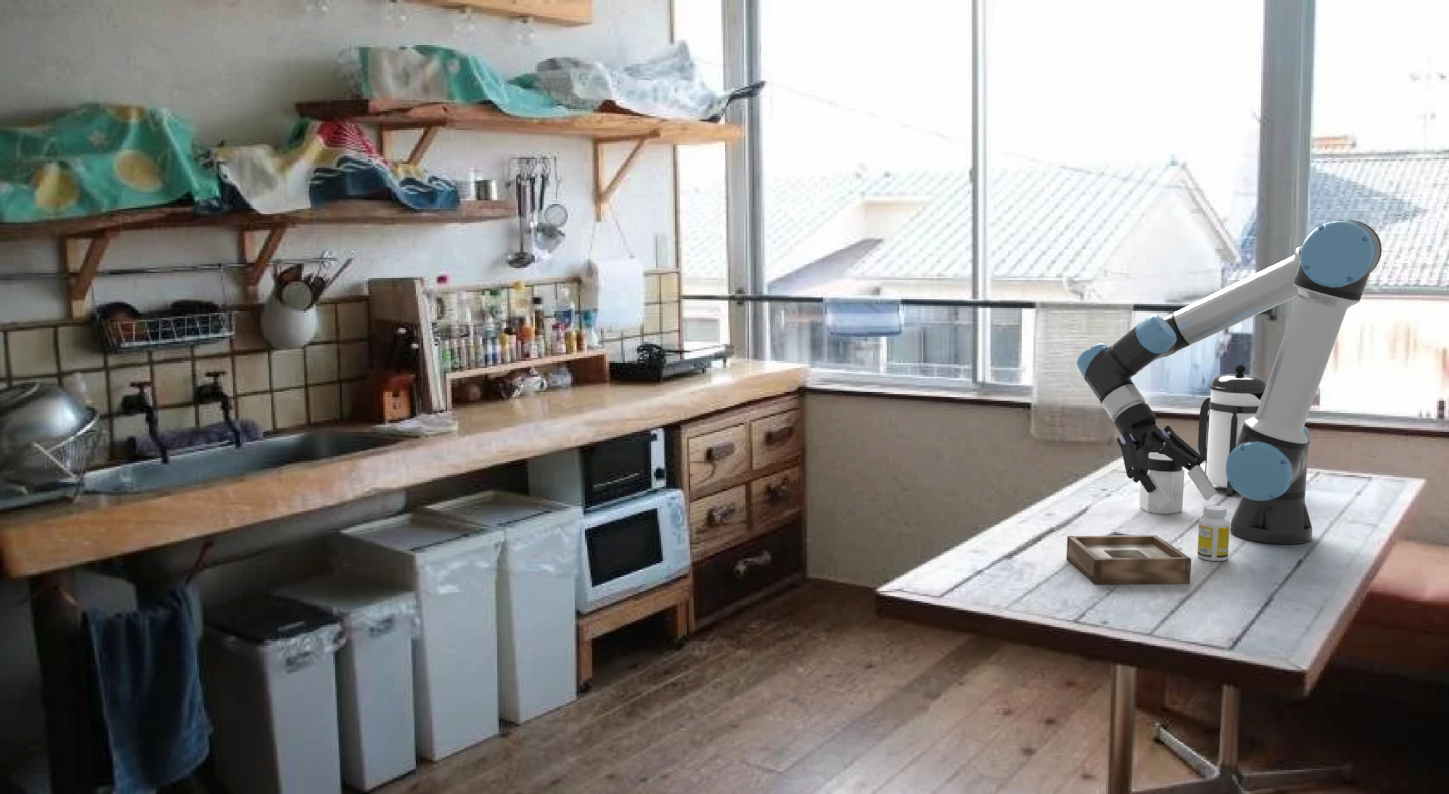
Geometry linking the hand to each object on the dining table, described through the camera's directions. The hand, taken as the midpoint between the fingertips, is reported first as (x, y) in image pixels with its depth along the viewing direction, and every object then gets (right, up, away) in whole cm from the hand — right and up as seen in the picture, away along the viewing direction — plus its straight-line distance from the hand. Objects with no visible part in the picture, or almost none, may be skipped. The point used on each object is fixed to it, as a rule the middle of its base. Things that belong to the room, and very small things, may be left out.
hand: (1188, 500), depth 234 cm
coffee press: (+30, -2, +56) cm, 63 cm away
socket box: (-16, -12, -11) cm, 23 cm away
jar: (+7, -5, +35) cm, 36 cm away
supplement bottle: (+3, -11, -3) cm, 12 cm away
